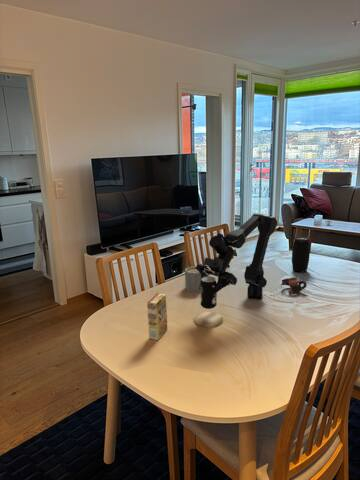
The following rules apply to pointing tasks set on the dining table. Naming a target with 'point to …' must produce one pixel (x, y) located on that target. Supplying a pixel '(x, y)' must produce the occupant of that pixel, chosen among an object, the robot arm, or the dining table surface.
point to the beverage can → (208, 292)
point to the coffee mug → (192, 279)
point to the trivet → (208, 319)
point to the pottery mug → (294, 285)
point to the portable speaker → (300, 254)
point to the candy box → (157, 316)
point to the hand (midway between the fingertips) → (206, 291)
